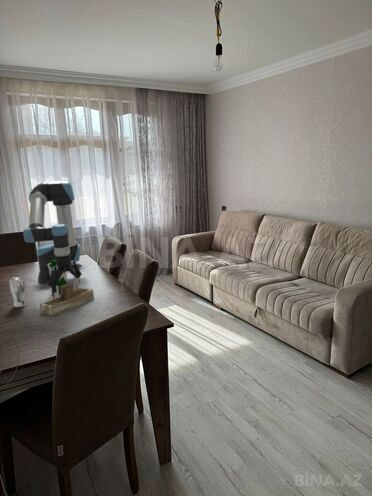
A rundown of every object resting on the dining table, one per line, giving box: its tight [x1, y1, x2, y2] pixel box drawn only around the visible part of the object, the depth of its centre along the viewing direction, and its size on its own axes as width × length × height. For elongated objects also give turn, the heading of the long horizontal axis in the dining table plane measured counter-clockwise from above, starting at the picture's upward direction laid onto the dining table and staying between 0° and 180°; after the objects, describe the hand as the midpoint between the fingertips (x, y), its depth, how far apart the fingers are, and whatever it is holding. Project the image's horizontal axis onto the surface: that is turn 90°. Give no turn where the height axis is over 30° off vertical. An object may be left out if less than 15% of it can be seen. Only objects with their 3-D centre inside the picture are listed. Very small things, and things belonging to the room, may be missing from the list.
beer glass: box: [9, 276, 27, 308], centre depth 185 cm, size 7×7×15 cm
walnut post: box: [60, 283, 74, 302], centre depth 183 cm, size 4×4×10 cm
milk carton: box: [47, 260, 69, 295], centre depth 203 cm, size 9×9×20 cm
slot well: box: [39, 286, 95, 317], centre depth 184 cm, size 9×27×5 cm, turn 150°
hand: (67, 293), depth 183 cm, fingers open, 13 cm apart
